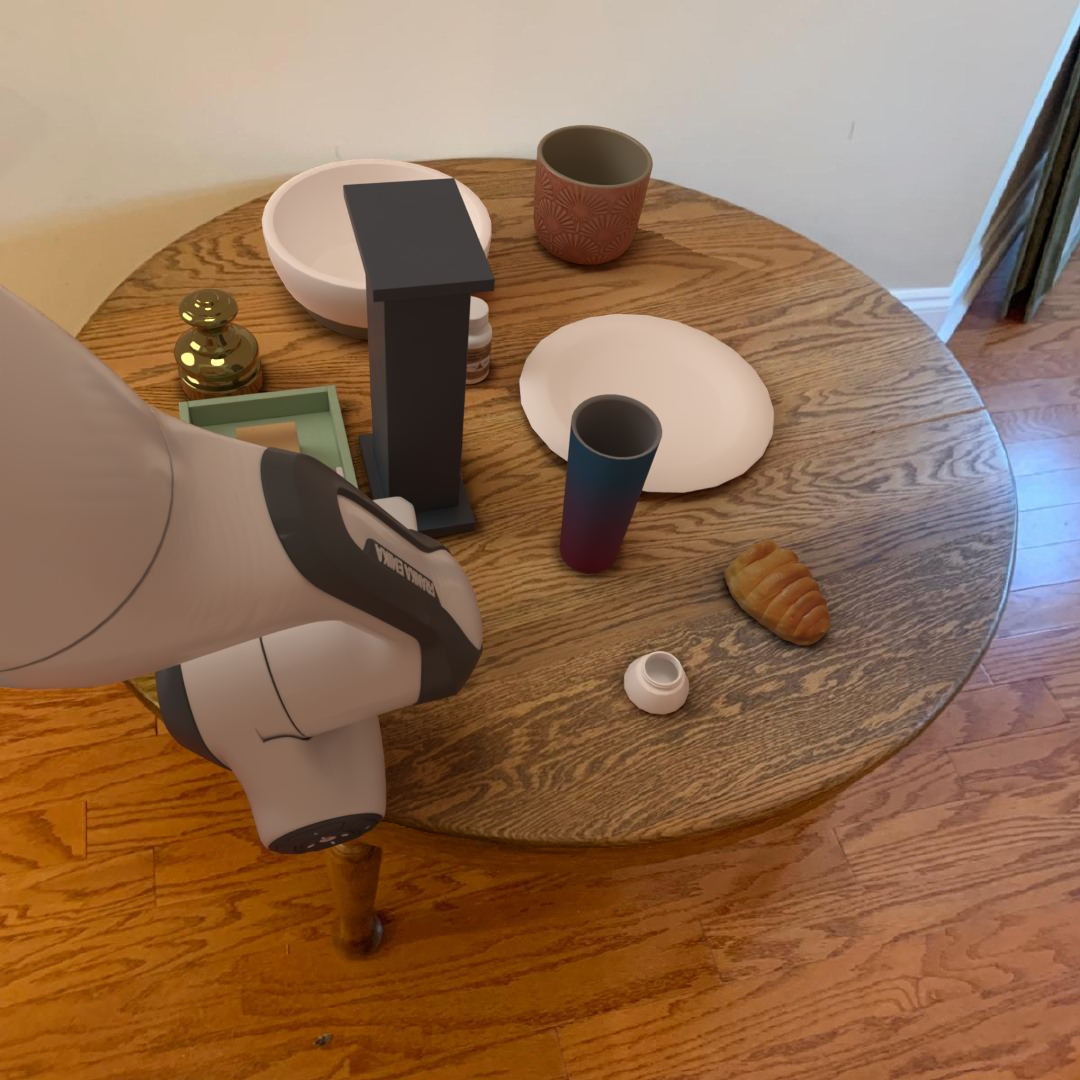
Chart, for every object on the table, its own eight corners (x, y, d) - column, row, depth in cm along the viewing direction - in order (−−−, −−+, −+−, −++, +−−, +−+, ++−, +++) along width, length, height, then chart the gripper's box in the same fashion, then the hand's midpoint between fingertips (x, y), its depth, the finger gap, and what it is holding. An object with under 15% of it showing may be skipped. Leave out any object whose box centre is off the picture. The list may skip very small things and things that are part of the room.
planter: (580, 290, 106) (594, 200, 98) (505, 234, 111) (513, 144, 103) (656, 251, 112) (676, 164, 104) (582, 200, 117) (596, 113, 109)
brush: (322, 588, 77) (319, 565, 75) (257, 598, 76) (252, 575, 74) (298, 445, 87) (295, 421, 84) (240, 452, 86) (235, 427, 83)
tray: (202, 623, 75) (195, 599, 73) (184, 427, 88) (178, 401, 85) (378, 593, 78) (377, 570, 76) (337, 409, 91) (335, 384, 89)
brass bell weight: (242, 347, 95) (227, 261, 87) (277, 393, 91) (265, 307, 84) (169, 373, 92) (146, 285, 84) (203, 421, 88) (183, 334, 80)
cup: (640, 571, 83) (678, 448, 71) (567, 591, 81) (593, 467, 69) (607, 512, 86) (638, 386, 75) (536, 530, 84) (557, 403, 73)
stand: (382, 545, 82) (372, 289, 61) (358, 443, 88) (342, 184, 68) (475, 531, 84) (495, 279, 63) (444, 432, 90) (454, 177, 70)
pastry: (844, 627, 81) (860, 601, 78) (786, 664, 78) (800, 638, 75) (768, 550, 86) (780, 523, 83) (710, 582, 83) (721, 555, 80)
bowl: (348, 203, 112) (344, 134, 105) (523, 271, 107) (530, 203, 101) (225, 307, 98) (212, 236, 92) (419, 389, 94) (419, 320, 87)
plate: (743, 538, 86) (748, 525, 85) (479, 452, 89) (480, 439, 88) (789, 366, 102) (794, 354, 100) (563, 299, 105) (565, 286, 103)
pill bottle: (462, 391, 94) (465, 328, 88) (435, 366, 96) (437, 302, 90) (498, 375, 96) (503, 312, 90) (471, 350, 98) (475, 287, 92)
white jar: (688, 719, 74) (684, 663, 77) (697, 700, 72) (693, 642, 75) (623, 713, 74) (622, 657, 77) (630, 694, 72) (629, 637, 75)
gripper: (441, 575, 68) (403, 436, 76) (132, 625, 63) (126, 470, 71) (439, 625, 73) (404, 489, 81) (152, 675, 68) (144, 525, 76)
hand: (272, 481), depth 76 cm, fingers open, 8 cm apart
